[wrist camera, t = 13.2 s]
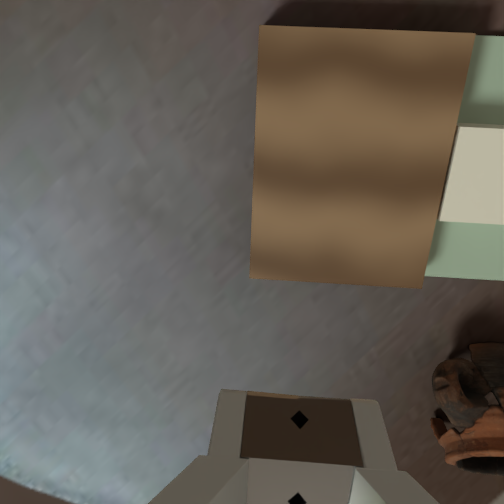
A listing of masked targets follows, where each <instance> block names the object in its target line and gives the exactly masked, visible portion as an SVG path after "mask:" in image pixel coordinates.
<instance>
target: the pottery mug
mask: <svg viewBox="0 0 504 504" xmlns="http://www.w3.org/2000/svg"><path fill="white" fill-rule="evenodd" d="M469 349H470V352H471V359H472V362H470V361H468V360H466V359H463V358H453V359H451V360H446V361H444V362H442V363H440V364H439V365H438V366H437V367H436V369H435V371H434V373H433V376H432V387H433V393H434V396H435V399H436V401H437V403H438V405H439V406H440V407H441V409H442V410H443V411H444V412H445V414H446V415H447V417H448V418H449V420H450V422H451V423H452V424H453V425H455V426H457V427H465V429H464V430H463V431H462V432H461V433H460V432H459V431H458V430H457V429H455V428H450V429H449V430H448V431H447V429H446V426H445V424H444V422H443V420H441V419H440V418H431V419H430V420H431V427H432V429H433V431H434V435H435V436H436V438H437V439H438V443H439V444H440V445H442V446H443V447H444V448H445V461H446V463H448V464H452V465H456V464H457V466H458V469H460V470H464V471H467V472H472V473H479V474H485V475H502V476H504V344H502V343H494V342H487V343H476V344H470V345H469ZM489 392H493V394H494V396H495V397H496V400H497V401H498V403H499V405H488V401H487V400H486V398H485V397H484V396H486V395H487V394H488V393H489Z"/></svg>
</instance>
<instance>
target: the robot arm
mask: <svg viewBox="0 0 504 504" xmlns="http://www.w3.org/2000/svg"><path fill="white" fill-rule="evenodd" d="M148 504H439V503H438V502H437V501H436V500H435V499H434V498H433V497H432V496H431V495H430V494H429V493H428V492H427V491H426V490H425V489H424V488H423V487H422V486H421V485H420V484H419V483H418V482H417V481H415V480H414V479H413V478H412V477H411V476H410V475H409V474H408V473H407V472H406V471H398V470H397V466H396V463H395V459H394V456H393V452H392V449H391V445H390V442H389V438H388V435H387V431H386V428H385V424H384V421H383V417H382V414H381V410H380V406H379V403H378V402H377V401H376V400H367V399H340V398H325V397H310V396H296V395H285V394H275V393H265V392H254V391H247V392H246V391H239V390H228V389H221V391H220V393H219V396H218V402H217V407H216V412H215V418H214V423H213V428H212V434H211V439H210V444H209V449H208V455H207V456H203V455H199V456H198V457H197V458H196V459H195V460H194V461H193V462H192V463H190V464H189V465H188V466H187V467H186V468H185V469H184V470H183V471H182V472H181V473H180V474H179V475H178V476H177V477H176V478H175V479H174V480H172V481H171V482H170V483H169V484H168V485H167V486H166V487H165V488H164V489H163V490H162V491H161V492H160V493H159V494H158V495H157V496H156V497H154V498H153V499H152V500H151V501H150V502H149V503H148Z"/></svg>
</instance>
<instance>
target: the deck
mask: <svg viewBox="0 0 504 504" xmlns="http://www.w3.org/2000/svg"><path fill="white" fill-rule="evenodd" d="M475 36H476V33H457V32H430V31H404V30H377V29H351V28H324V27H298V26H271V25H259V46H258V71H257V97H256V123H255V149H254V174H253V200H252V226H251V252H250V277H249V278H254V279H270V280H287V281H303V282H320V283H336V284H353V285H369V286H386V287H402V288H419V289H422V285H423V280H424V276H425V271H426V266H427V261H428V257H429V252H430V247H431V243H432V238H433V233H434V229H435V224H436V219H437V214H438V210H439V205H440V200H441V196H442V191H443V186H444V182H445V177H446V172H447V167H448V163H449V158H450V153H451V149H452V144H453V139H454V134H455V130H456V125H457V120H458V116H459V111H460V106H461V102H462V97H463V92H464V87H465V83H466V78H467V73H468V69H469V64H470V59H471V54H472V50H473V45H474V40H475Z"/></svg>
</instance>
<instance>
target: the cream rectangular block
mask: <svg viewBox="0 0 504 504" xmlns="http://www.w3.org/2000/svg"><path fill="white" fill-rule="evenodd" d="M437 219H438V220H439V221H446V222H464V223H481V224H498V225H504V125H496V124H476V123H457V125H456V130H455V134H454V139H453V144H452V149H451V153H450V158H449V163H448V167H447V172H446V177H445V182H444V186H443V191H442V196H441V200H440V205H439V210H438V214H437Z"/></svg>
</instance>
